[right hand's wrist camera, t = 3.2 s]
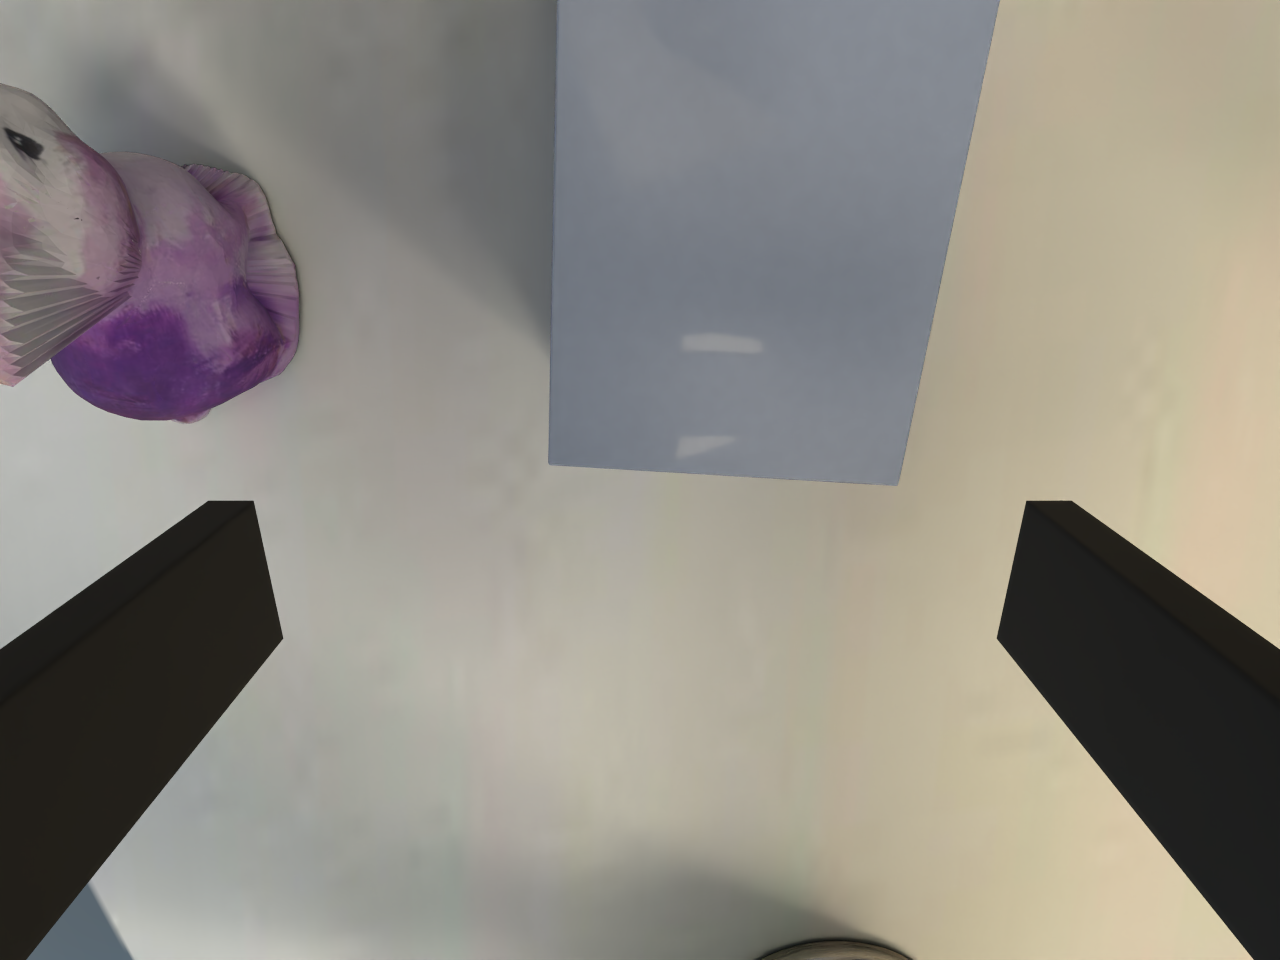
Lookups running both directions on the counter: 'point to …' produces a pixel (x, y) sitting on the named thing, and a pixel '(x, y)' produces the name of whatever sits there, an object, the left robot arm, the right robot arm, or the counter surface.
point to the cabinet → (753, 228)
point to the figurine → (135, 273)
